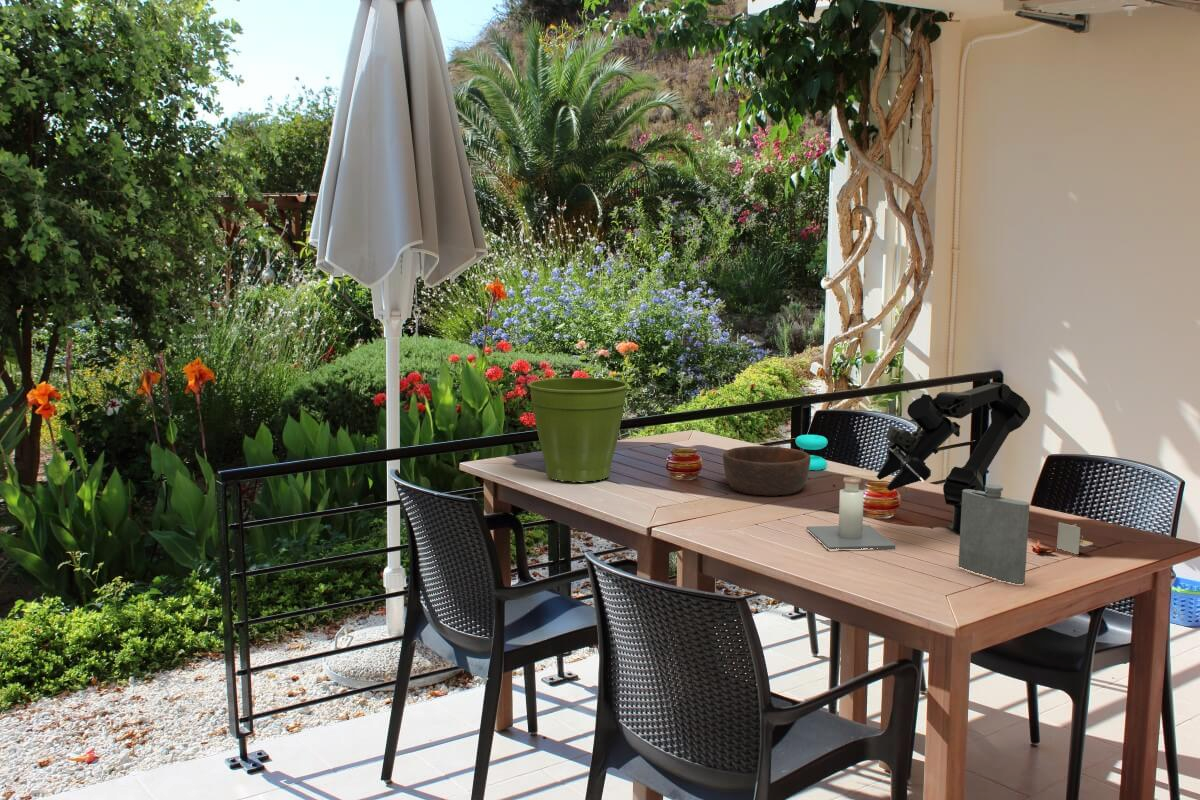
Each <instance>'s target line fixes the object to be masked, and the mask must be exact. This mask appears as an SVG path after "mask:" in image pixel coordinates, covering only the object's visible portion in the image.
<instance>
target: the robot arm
mask: <svg viewBox="0 0 1200 800" xmlns="http://www.w3.org/2000/svg"><path fill="white" fill-rule="evenodd" d="M985 405H987V406H988V407H989V408H990V418H991V419H990V420H991V422H990V423H989V425H988V427H987V429H986V431H985V432H984V434H983V435H982V437H981V439H980V440H979V441H978V444H977V445H976V446H975V449H974V450H973V451H972V453H971V454H970V456H969V458H968V460H967V461H966V463H965V465H963V466H962V467H959V466H953V468H951V471H949V474H948V475H947V476H946V477H945V482H944V484H943V486H942V490H943V495H944V496H943V497H944V501H945V505H949V506H953V510H952V511H953V513H952V524H950V525H949V524H948V525H947V527H946V528H947V529H948V530H950V531H952V532H954V533H955V534H957V535H960V526H961V507H962V490H965V489H971V490H976V491H983V490H984V481H983V477H984V475H985V473H986V472H987V470H988V469H989V467H990V465H991V464H992V462H993V460H994V459H995V457H996V456H997V454H998V452H999V451H1000V449H1001V448H1002V445H1003V444H1004V443H1005V441H1006V440H1007V437H1008V436H1009V434H1010V433H1011V432H1014V431H1015V430H1018V429H1020V428H1021V427H1022V426H1023V425H1024V423H1025V422H1026V421H1027V419H1028V418H1029V416H1030V413H1031V407H1030V405H1029V404H1028V402H1027V401H1026V400H1025V398H1024V397H1022V396H1021V395H1019V394H1018V393H1016V392H1015V391H1013V389H1012V388H1011V387H1010V386H1009V385H1008V384H1006V383H1001V382H993V381H992V382H988V383H986V384H985V385H981V386H977V387H974V388H970V389H967V390H964V391H960V392H959V391H941V392H939V393H938V394H936V396H935V397H934V398H933V397H932V396H931V395H930V394H926V393H922V394H921V395H920V397H919V398H915V400H913V401H912V402H911V403H910V404H908V407H907V415H908V416H909V417H910V418H911V420H913V422H915V423H916V425H917V426H918V427H919V428H921V429H920V431H917V430H914V431H912V432H910V431H909V430H906V429H905V428H903V429H900V428H898V427H895V426H893V425H890V427H889V429H888V430H887V432H886V434H885V437H884V438H885V439H887V440H888V443H887V444H886V446H887V447H886V452H887V453H886V455H887V456H886V459H885V461H884V462H883V465H882V466H881V468H880V470H879V471H878V473H877V475H876V479H878V480H883V479H884V478H887V477H889V476H890V475H893V474H894V473H896V475H894V477H893V478H892V480H891V481H890V482H889V483H888V485H886V489H887V490H888V491H889V492H890V491H893V490H896V489H899V488H902V487H905V486H908V485H910V484H914V483H918V482H922V480H923V481H924V482H926V481H927V480H928V479H929V478H930V477H931V475H932V469H930V468H929V467H928V466H927V465H926V464H927V463H926V462H925V461H926V460H927V459H928V458H929V457H930V456H931V455H932V454H935V455H937V454H938V453H939V450H938V448H940V447H941V446H942V445H943V444H944V442H946V441H947V440H948V439H949V438H950V437H951V436H952V435H955V437H957V438H959V437H960V436H961V435H960V433H961V431H960V429H961V425H960V424H958V423H957V421H952V420H950V418H952V419H959V420H960V419H963V418H965V417H966V416H968V415H970V414H971V412H972V410H973V409H975V408H978V407H981V406H985ZM897 472H898V473H897Z"/></svg>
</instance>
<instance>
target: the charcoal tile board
mask: <svg viewBox="0 0 1200 800" xmlns="http://www.w3.org/2000/svg"><path fill="white" fill-rule="evenodd" d="M807 530H809V531H810V532H811V533H812V534H813V535H814V536H815V537H816V538H817V539H819V540H820V541H821V542H822V543H823V544H824V545H825V546H826V547H827V548H829V549H836V548H837V549H838V548H839V549H861V548H862V549H863V548H868V549H870V548H873V549H877V548H878V549H895V550H896V547H897V546H896V544H894V543H893V542H892V541H891V540H889V539H888V538H887V537H886V536H884V535H883V534H882V533H880V532H879V531H878V530H876V529H875V528H874V527H872V526H871V525H870V524H863V526H862V537H861V538H858V539H847V538H842V537H840V536H839V535H838V530H839V525H821V526H820V525H818V526H817V525H815V526H814V525H813V526H812V525H811V526H806V531H807Z"/></svg>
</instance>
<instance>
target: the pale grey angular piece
mask: <svg viewBox="0 0 1200 800" xmlns="http://www.w3.org/2000/svg"><path fill="white" fill-rule="evenodd" d="M1057 526H1058V528H1057V530H1058V531H1057V536H1056V537H1057V540H1056V549H1057V548H1058V549H1062V550H1064V551H1068V552H1071V553H1074V554H1079V553H1080V551H1079V550H1080V546H1082V547H1088V546H1092V545H1093V544H1094V543H1093V542H1092V541H1089V540H1088V541H1087V540H1084V535H1081V527H1080V526H1077V523H1076V524H1072V525H1071V524H1068V523H1064V522H1061V521H1060V522H1059V521H1058V525H1057Z"/></svg>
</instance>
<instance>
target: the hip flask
mask: <svg viewBox="0 0 1200 800" xmlns="http://www.w3.org/2000/svg"><path fill="white" fill-rule="evenodd" d="M1003 489H1004V487H1003V486H1002V485H1000V484H985V485H984V490H985V491H983V490H982V491H976V490H971V489H965V490H962V507H961V526H960V534H959V545H958V546H959V547H958V566H959V567H962V568H964V569H967V570H970V571H973V572H975V573H979V574H983V575H986V576H989V577H992V578H996V579H998V580H1001V581H1006V582H1011V583H1015V584H1023V583H1026V582H1025V581H1026V569H1027V568H1026V567H1027V565H1026V564H1027V550H1028V537H1029V535H1028V534H1029V521H1030V520H1029V518H1030V517H1029V516H1030V503H1029V502H1027V501H1024V500H1017V499H1011V498H1008V497H1007V498H1006V497H1003V496H1002V492H1003V491H1004V490H1003Z"/></svg>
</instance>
